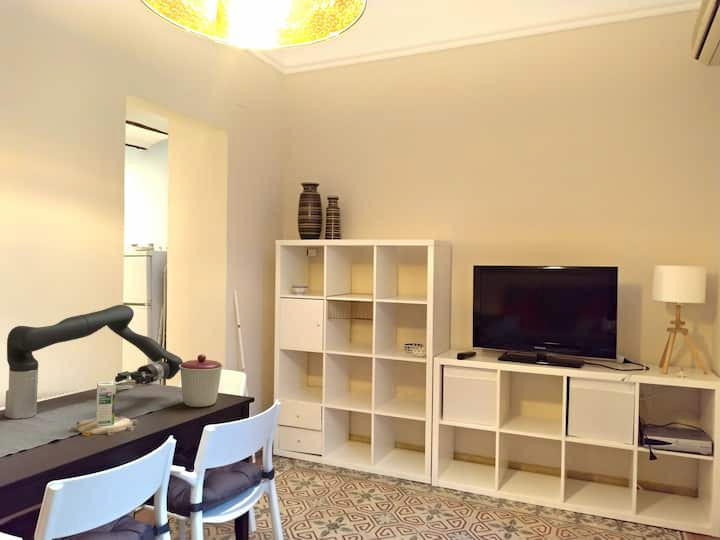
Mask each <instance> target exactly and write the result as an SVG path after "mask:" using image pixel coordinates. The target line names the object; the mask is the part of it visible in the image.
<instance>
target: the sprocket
mask: <svg viewBox="0 0 720 540" xmlns="http://www.w3.org/2000/svg"><path fill="white" fill-rule="evenodd" d="M77 424H78V425H77ZM138 424H139V420H138V419H130V418H127V416H126V415H125V416H124V415H120V416H115V419H114V425H103V426H97V424H96V417H95V418H91V419H87V420H86V419H85V420H83V419H82V420H78V421H76V425H77V426H70V427H71V428H70V431H71V430H72V431H71V432H79V433H81V434H82V435H81V436H87V437H89V436H91V435H107V436H114V435H115V434H116V433H121V431H122V432H124V431H134V430H135V426H134V425H138ZM76 430H78V431H76Z"/></svg>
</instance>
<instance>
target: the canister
mask: <svg viewBox="0 0 720 540" xmlns="http://www.w3.org/2000/svg"><path fill="white" fill-rule="evenodd" d="M179 368H180V381H181V382H180V383H181V395H182V401H183V404H184V405H186V406H188V407H193V408H203V407H204V408H205V407H209V406H212V405H214V404H215V403H216V401H217V399H218V393H219V388H220V382H221V374H222V370H223V368H224V365H223V364H222V363H221V362H220V361H218V360H212V359H207V356H206V355H205V354H199V355H198V356H197V358H196V359H192V360H191V359H190V360H186V361H183V363H182V364H180V365H179Z"/></svg>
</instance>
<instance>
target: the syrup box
mask: <svg viewBox="0 0 720 540" xmlns="http://www.w3.org/2000/svg"><path fill="white" fill-rule="evenodd" d="M116 385H117V384H116V382H115V381H103V382H102V381H101V382H97V383H96V409H95V418H96V424H97V426H103V425H114V419H115V417H116V415H115V413H116V393H117V392H116V391H117V390H116Z"/></svg>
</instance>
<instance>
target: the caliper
mask: <svg viewBox="0 0 720 540" xmlns="http://www.w3.org/2000/svg"><path fill="white" fill-rule="evenodd" d="M133 388H135V387H134V386H133V385H132V384H131V385H118V384H116V391H117V390H127V389H128V390H129V389H131V390H132V389H133Z"/></svg>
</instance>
